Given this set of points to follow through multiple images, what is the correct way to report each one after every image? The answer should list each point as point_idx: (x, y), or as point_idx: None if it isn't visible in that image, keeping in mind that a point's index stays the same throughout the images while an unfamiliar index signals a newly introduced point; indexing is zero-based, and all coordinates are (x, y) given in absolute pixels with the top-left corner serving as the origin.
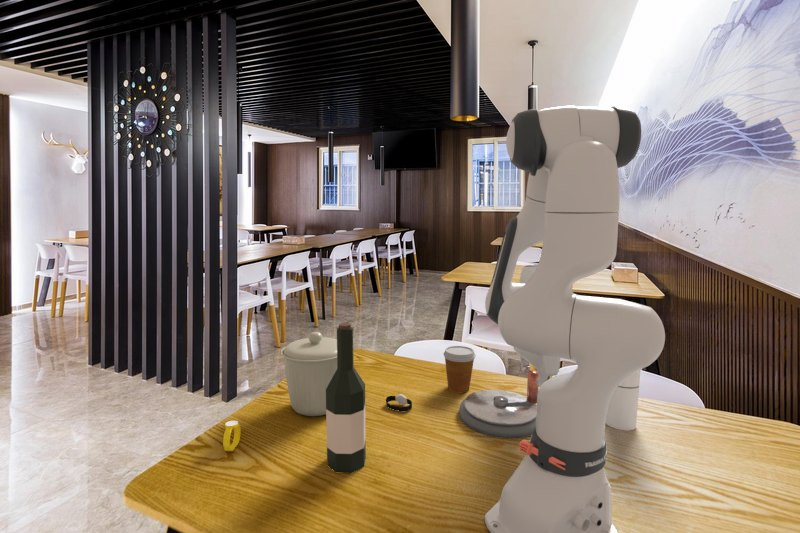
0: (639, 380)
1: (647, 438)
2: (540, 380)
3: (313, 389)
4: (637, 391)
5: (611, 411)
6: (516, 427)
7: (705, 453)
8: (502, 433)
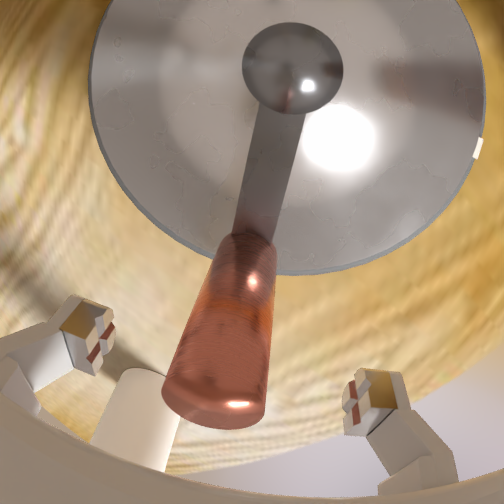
0: None
1: (93, 377)
2: (37, 329)
3: None
4: None
5: (124, 399)
6: None
7: (62, 391)
8: None
